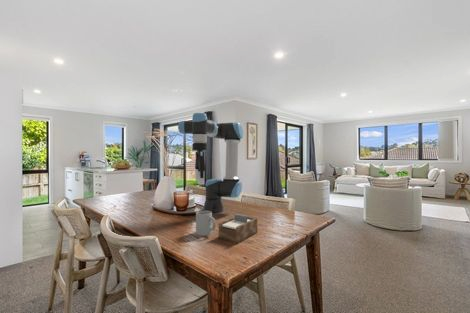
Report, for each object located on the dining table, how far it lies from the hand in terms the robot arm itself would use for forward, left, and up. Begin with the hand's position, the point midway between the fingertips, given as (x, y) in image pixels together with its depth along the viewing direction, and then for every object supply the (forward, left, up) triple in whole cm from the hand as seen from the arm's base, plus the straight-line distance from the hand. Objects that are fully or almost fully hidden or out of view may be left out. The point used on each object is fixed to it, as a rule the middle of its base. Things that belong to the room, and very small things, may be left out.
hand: (199, 182), depth 121 cm
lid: (-8, +19, -20) cm, 29 cm away
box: (-9, +19, -26) cm, 34 cm away
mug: (-1, +4, -27) cm, 27 cm away
